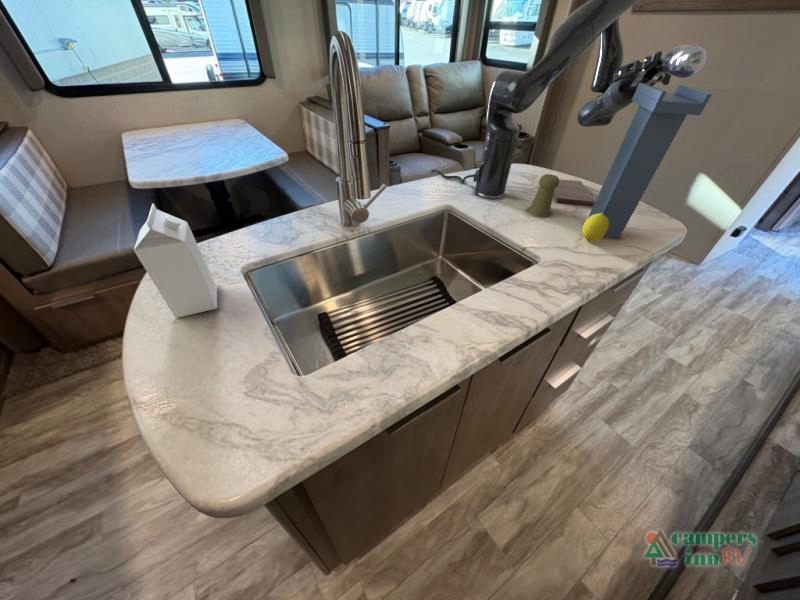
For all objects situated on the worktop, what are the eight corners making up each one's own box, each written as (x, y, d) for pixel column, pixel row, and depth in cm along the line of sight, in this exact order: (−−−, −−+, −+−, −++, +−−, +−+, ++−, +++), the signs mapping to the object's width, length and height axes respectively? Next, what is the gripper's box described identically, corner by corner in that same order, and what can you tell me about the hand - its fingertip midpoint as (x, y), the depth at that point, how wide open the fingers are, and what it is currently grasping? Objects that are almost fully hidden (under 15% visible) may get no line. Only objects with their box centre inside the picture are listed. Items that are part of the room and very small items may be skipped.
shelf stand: (626, 243, 84) (712, 94, 62) (590, 239, 85) (662, 91, 63) (611, 222, 93) (682, 85, 71) (579, 219, 94) (639, 82, 72)
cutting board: (592, 205, 101) (594, 201, 100) (556, 202, 103) (557, 197, 102) (579, 185, 114) (581, 181, 113) (547, 182, 115) (548, 178, 114)
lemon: (590, 248, 82) (604, 220, 77) (572, 238, 86) (585, 210, 80) (604, 244, 84) (619, 216, 79) (586, 234, 88) (599, 206, 82)
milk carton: (175, 319, 59) (118, 227, 47) (178, 295, 64) (127, 206, 52) (217, 309, 62) (174, 218, 49) (217, 287, 66) (177, 200, 54)
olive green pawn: (545, 218, 94) (558, 181, 86) (525, 212, 96) (536, 176, 89) (551, 211, 97) (565, 175, 90) (532, 206, 100) (544, 170, 93)
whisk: (701, 79, 63) (718, 47, 59) (673, 79, 63) (688, 46, 60) (657, 67, 78) (668, 41, 75) (635, 67, 79) (645, 41, 75)
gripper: (600, 74, 87) (637, 35, 71) (655, 77, 86) (706, 38, 69) (594, 104, 89) (629, 73, 72) (647, 108, 87) (695, 77, 71)
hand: (666, 56), depth 71 cm, fingers closed on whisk, 2 cm apart
